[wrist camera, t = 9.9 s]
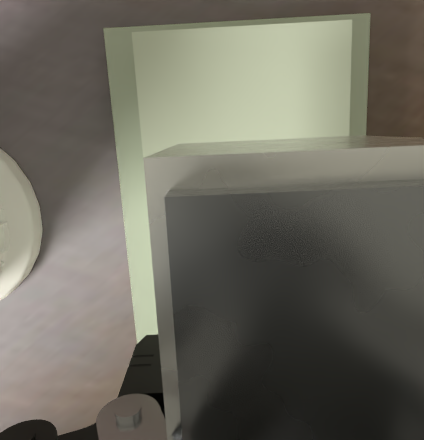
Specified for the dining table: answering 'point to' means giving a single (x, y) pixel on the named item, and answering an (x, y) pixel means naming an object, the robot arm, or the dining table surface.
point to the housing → (290, 287)
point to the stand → (225, 100)
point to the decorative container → (17, 225)
